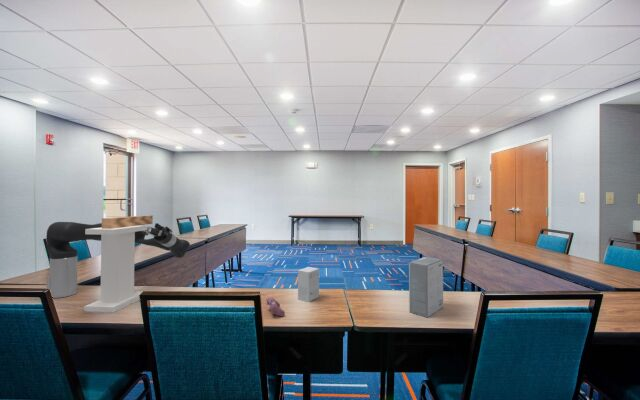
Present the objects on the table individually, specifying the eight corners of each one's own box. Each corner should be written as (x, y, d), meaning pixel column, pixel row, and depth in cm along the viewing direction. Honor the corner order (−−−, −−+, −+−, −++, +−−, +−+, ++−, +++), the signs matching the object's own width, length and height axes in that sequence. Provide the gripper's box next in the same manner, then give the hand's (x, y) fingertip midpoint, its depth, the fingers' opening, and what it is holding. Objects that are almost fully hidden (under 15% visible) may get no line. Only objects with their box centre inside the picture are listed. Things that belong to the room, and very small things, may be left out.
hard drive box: (425, 302, 117) (425, 256, 117) (443, 307, 112) (444, 259, 112) (408, 312, 106) (408, 261, 106) (427, 318, 101) (427, 265, 101)
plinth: (121, 295, 123) (122, 225, 123) (146, 296, 122) (147, 225, 122) (84, 311, 105) (85, 229, 105) (113, 312, 104) (114, 229, 104)
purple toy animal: (270, 312, 109) (262, 297, 108) (280, 305, 111) (272, 291, 110) (275, 322, 100) (267, 306, 99) (286, 315, 102) (278, 299, 101)
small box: (308, 294, 126) (308, 266, 126) (319, 297, 122) (319, 268, 123) (297, 299, 119) (297, 270, 119) (308, 302, 116) (309, 272, 116)
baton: (144, 223, 132) (144, 215, 132) (152, 223, 131) (152, 215, 131) (101, 228, 108) (101, 218, 108) (111, 228, 107) (111, 218, 107)
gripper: (155, 231, 147) (136, 217, 133) (180, 231, 146) (163, 218, 132) (150, 244, 143) (130, 231, 129) (176, 244, 142) (158, 232, 128)
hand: (147, 224), depth 131 cm, fingers open, 8 cm apart
